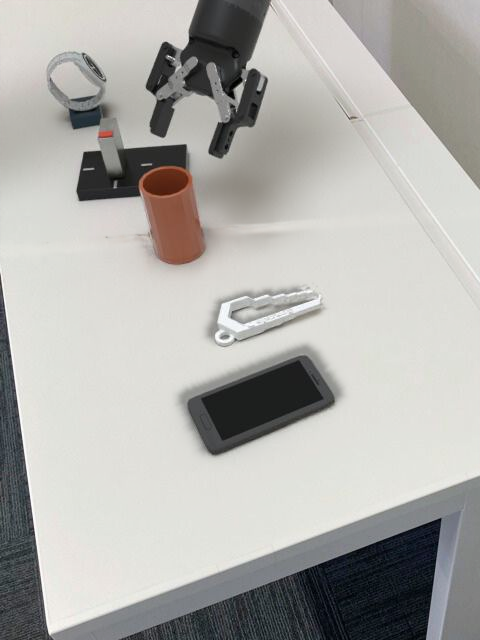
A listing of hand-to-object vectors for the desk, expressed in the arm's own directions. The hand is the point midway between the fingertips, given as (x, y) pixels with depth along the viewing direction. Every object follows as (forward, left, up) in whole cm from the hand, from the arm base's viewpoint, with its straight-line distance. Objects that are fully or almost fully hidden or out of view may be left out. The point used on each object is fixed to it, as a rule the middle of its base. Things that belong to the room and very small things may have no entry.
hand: (185, 145), depth 89 cm
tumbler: (-3, -3, -12) cm, 13 cm away
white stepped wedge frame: (+7, -16, -13) cm, 22 cm away
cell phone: (+6, -29, -12) cm, 32 cm away
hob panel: (-9, +11, -12) cm, 19 cm away
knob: (-11, +11, -9) cm, 18 cm away
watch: (-17, +27, -13) cm, 34 cm away
